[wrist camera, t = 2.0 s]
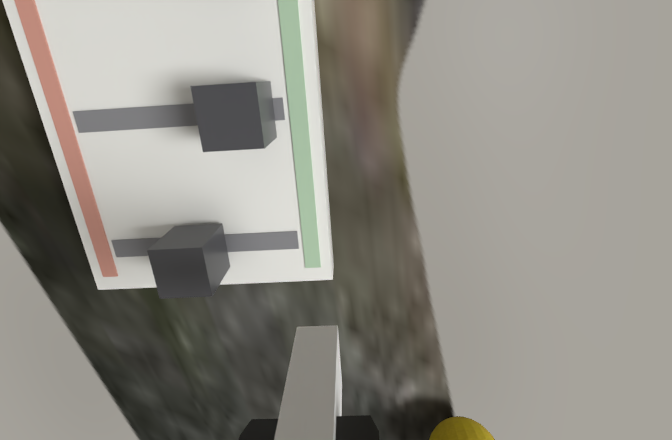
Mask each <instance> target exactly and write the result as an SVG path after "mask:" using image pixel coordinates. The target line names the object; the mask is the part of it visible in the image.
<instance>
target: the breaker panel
mask: <svg viewBox="0 0 672 440" xmlns="http://www.w3.org/2000/svg"><path fill="white" fill-rule="evenodd" d="M2 1H3V4H4V7H5V10H6V13H7V16H8V19H9V22H10V25H11V28H12V31H13V34H14V37H15V40H16V43H17V46H18V49H19V52H20V55H21V58H22V61H23V64H24V67H25V70H26V73H27V76H28V79H29V82H30V85H31V88H32V92H33V95H34V98H35V101H36V104H37V107H38V110H39V113H40V116H41V119H42V122H43V125H44V128H45V131H46V134H47V137H48V140H49V143H50V146H51V149H52V152H53V155H54V158H55V161H56V164H57V167H58V170H59V173H60V176H61V179H62V182H63V185H64V188H65V191H66V194H67V197H68V200H69V203H70V206H71V209H72V212H73V215H74V218H75V221H76V224H77V227H78V231H79V234H80V237H81V240H82V243H83V246H84V249H85V252H86V255H87V258H88V261H89V264H90V267H91V270H92V273H93V276H94V279H95V282H96V285H97V288H98V290H104V289H127V288H150V287H157V286H156V282H155V279H154V275H153V271H152V267H151V264H150V260H149V256H148V252H147V250H148V249H149V248H150V247H151V246H152V245H153V244H155V243H156V242H157V241H158V240H159V239H160V238H161V237H163V236H164V235H165V234H166V233H167V232H168V231H169V230H171V229H172V228H173V227H174V226H181V225H201V224H221V223H222V224H223V229H224V235H225V240H226V246H227V251H228V257H229V262H230V268H229V270H228V271H227V273H226V275H225V276H224V278H223V280H222V281H221V283H220V284H243V283H266V282H290V281H313V280H333V267H334V264H333V251H332V237H331V223H330V210H329V196H328V183H327V169H326V155H325V142H324V128H323V115H322V101H321V87H320V74H319V60H318V47H317V33H316V19H315V6H314V0H2ZM260 81H271V90H272V98H273V107H274V115H275V124H276V133H277V138H276V139H275V140H274V141H273V142H271V143H270V144H269V145H268V146H267V147H266V148H265V149H249V150H232V151H215V152H203V150H202V145H201V140H200V135H199V129H198V124H197V119H196V113H195V108H194V103H193V97H192V92H191V87H190V86H200V85H215V84H230V83H244V82H260ZM220 284H219V285H220Z"/></svg>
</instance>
